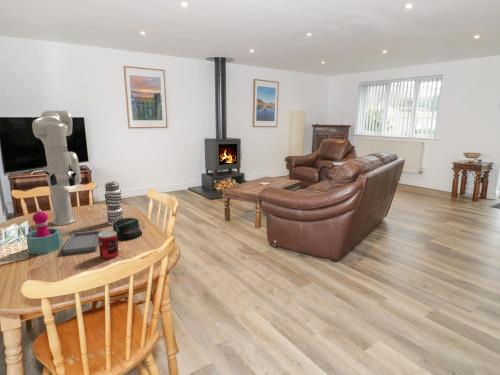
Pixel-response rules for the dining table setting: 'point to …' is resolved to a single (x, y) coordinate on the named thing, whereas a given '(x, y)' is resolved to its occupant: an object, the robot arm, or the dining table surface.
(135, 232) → the black hat
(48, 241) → the crock
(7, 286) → the dining table surface
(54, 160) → the robot arm
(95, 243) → the tray
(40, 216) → the pepper mill
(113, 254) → the canned food
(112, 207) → the gray white banded cylinder
